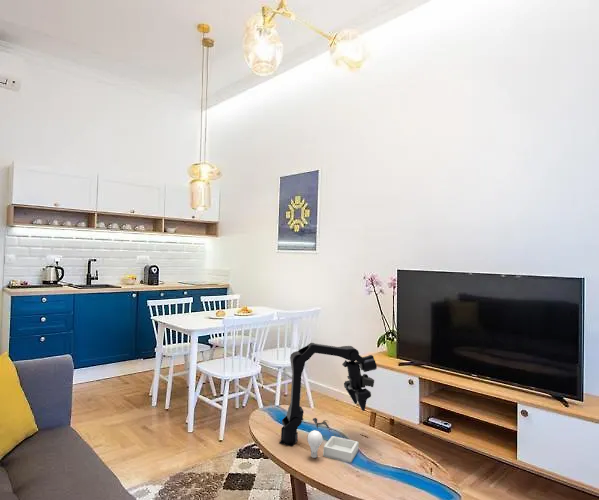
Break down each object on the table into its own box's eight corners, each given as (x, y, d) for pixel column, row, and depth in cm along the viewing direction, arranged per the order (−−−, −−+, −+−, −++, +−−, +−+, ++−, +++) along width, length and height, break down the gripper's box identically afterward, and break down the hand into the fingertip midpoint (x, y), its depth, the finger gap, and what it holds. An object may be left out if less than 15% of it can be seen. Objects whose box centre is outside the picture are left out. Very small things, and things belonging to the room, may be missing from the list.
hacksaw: (312, 420, 214) (312, 417, 214) (331, 419, 216) (331, 416, 216) (323, 441, 190) (323, 437, 190) (345, 440, 192) (345, 437, 192)
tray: (323, 456, 174) (323, 446, 174) (331, 444, 185) (332, 435, 186) (350, 463, 170) (351, 453, 170) (358, 450, 181) (358, 441, 181)
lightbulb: (310, 462, 168) (312, 435, 169) (303, 455, 174) (305, 429, 174) (324, 459, 171) (325, 432, 171) (316, 453, 177) (318, 427, 177)
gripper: (379, 375, 185) (384, 410, 185) (362, 364, 203) (367, 396, 203) (356, 381, 182) (361, 416, 182) (341, 370, 200) (346, 401, 200)
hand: (359, 407), depth 192 cm, fingers open, 9 cm apart
